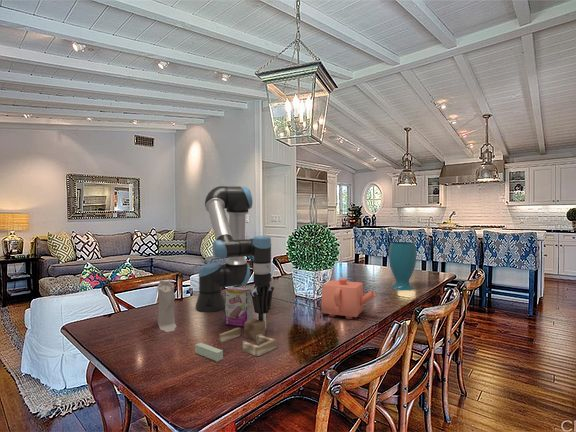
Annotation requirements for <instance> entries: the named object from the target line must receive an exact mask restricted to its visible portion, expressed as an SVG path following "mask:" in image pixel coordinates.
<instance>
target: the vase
mask: <svg viewBox="0 0 576 432" xmlns="http://www.w3.org/2000/svg"><path fill="white" fill-rule="evenodd" d="M416 247H417V246H416V243H415V242H408V241H392V242H389V247H388V261H389V262H388V264H389V267H390V270H391V272H392V274H393V276H394V279H395V283H394V284H393V285H392V286H390V288H391V289H393V290H397V291H413V290H415V288H414V287H413V286H412V285H411V284H410V280H411V277H412V275H413V274H414V271H415V269H416V263H417V256H418V255H417V248H416Z"/></svg>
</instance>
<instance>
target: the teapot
mask: <svg viewBox="0 0 576 432" xmlns="http://www.w3.org/2000/svg"><path fill="white" fill-rule="evenodd" d="M376 296H377V295H376V293H375V292H374V291H373V290H370V291H368V292H367V293H365V294H364V283H363V282H360V281H359V282H358V281H356V282H355V281H348V279H347V278H346V277H345V278H344V277H341V278H338V280H332V279H331V280H329V281H327V282H325V284H323V285H322V287H321V303H320V304H321V313H322V314H326V315H327V314H328V317H330V318H335V317H336V316H341V317H345V319H346V320H352V319H353V318H358V317H359V315H360V314H361V313H362V312H363V311H364V305H365V304H366V303H368V302H369V301H371V300H372V299H374V298H376Z"/></svg>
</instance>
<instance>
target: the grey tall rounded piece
mask: <svg viewBox="0 0 576 432" xmlns="http://www.w3.org/2000/svg"><path fill="white" fill-rule="evenodd" d="M158 282H159V283H158V285H157V297H158V312H157V313H158V315H157V327H158V328H159V330H160V331H164V332H165V333H168V332H174V331H176V330H175V329H176V328H177V324H176V319H175V283H174V282H171V281H170V280H159V281H158Z"/></svg>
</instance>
